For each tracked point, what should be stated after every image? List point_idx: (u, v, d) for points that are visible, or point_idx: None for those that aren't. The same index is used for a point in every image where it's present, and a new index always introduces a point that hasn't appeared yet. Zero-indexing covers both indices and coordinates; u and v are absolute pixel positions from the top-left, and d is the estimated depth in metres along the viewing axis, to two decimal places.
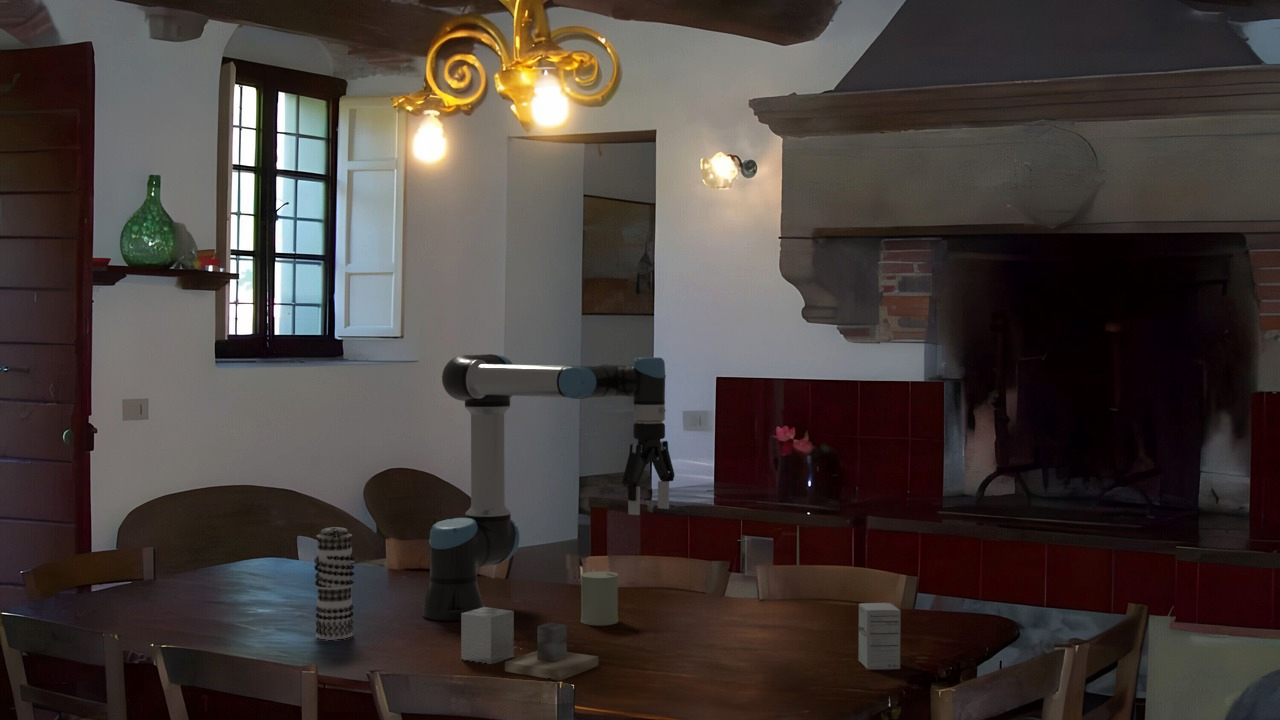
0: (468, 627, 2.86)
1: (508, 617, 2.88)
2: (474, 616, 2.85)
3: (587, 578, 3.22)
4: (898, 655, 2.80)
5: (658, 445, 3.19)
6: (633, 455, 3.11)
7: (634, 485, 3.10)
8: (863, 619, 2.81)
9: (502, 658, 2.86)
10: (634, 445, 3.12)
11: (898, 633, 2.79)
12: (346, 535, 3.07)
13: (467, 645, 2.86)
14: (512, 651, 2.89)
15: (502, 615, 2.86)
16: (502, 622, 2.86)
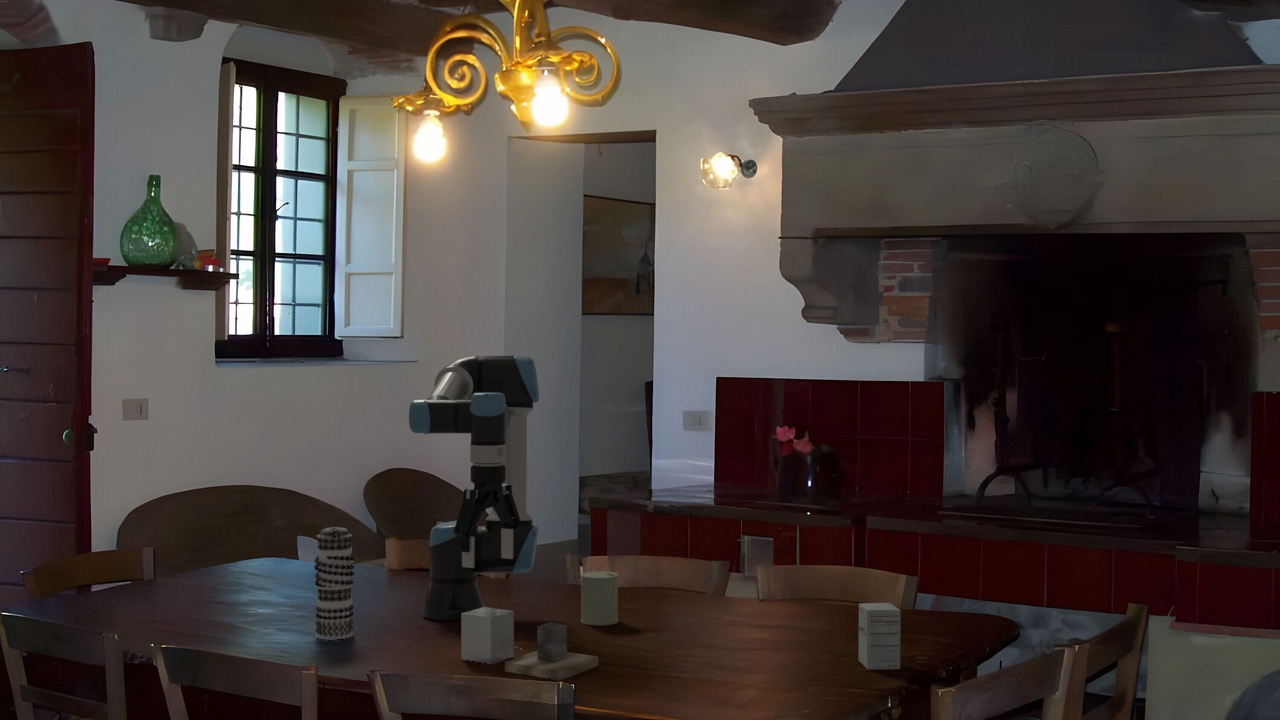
0: (468, 627, 2.86)
1: (508, 617, 2.88)
2: (474, 616, 2.85)
3: (587, 578, 3.22)
4: (898, 655, 2.80)
5: (499, 489, 2.89)
6: (467, 502, 2.82)
7: (467, 535, 2.80)
8: (863, 619, 2.81)
9: (502, 658, 2.86)
10: (468, 490, 2.82)
11: (898, 633, 2.79)
12: (346, 535, 3.07)
13: (467, 645, 2.86)
14: (512, 651, 2.89)
15: (502, 615, 2.86)
16: (502, 622, 2.86)
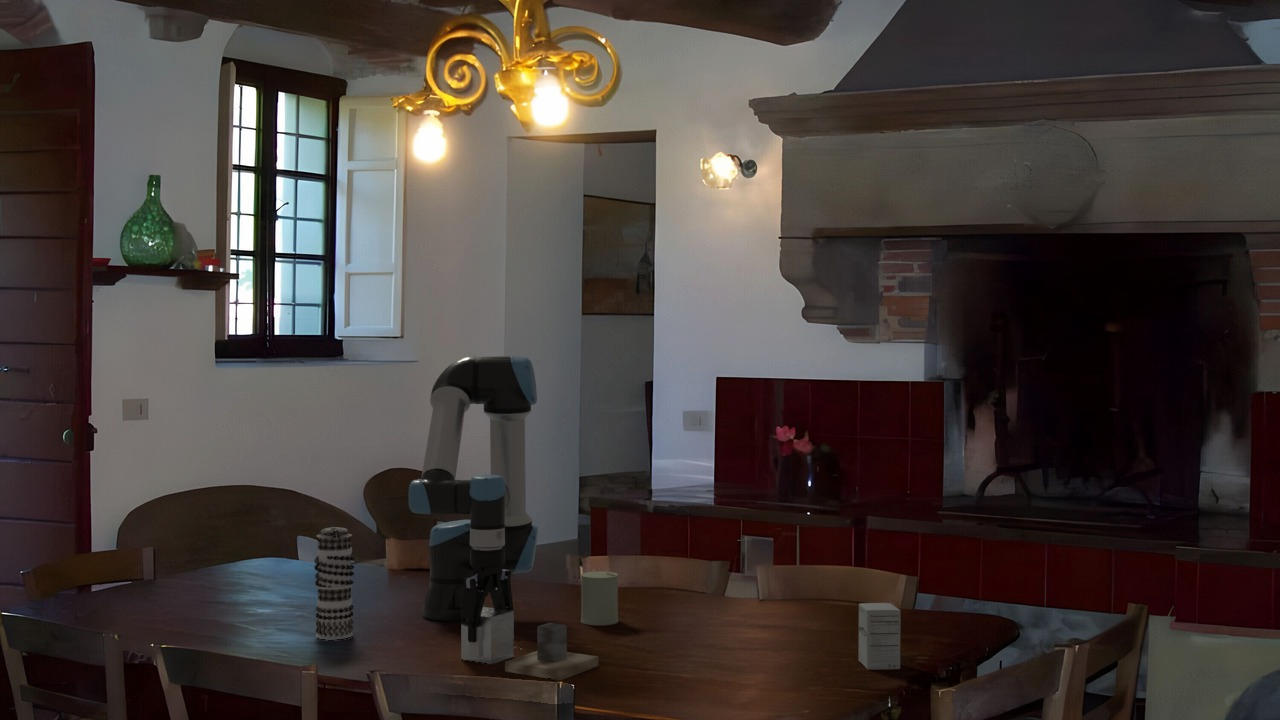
0: None
1: (508, 617, 2.88)
2: None
3: (587, 578, 3.22)
4: (898, 655, 2.80)
5: (498, 571, 2.90)
6: (468, 591, 2.82)
7: (474, 626, 2.83)
8: (863, 619, 2.81)
9: (502, 658, 2.86)
10: (467, 580, 2.82)
11: (898, 633, 2.79)
12: (346, 535, 3.07)
13: (467, 645, 2.86)
14: (512, 651, 2.89)
15: (502, 615, 2.86)
16: (502, 622, 2.86)
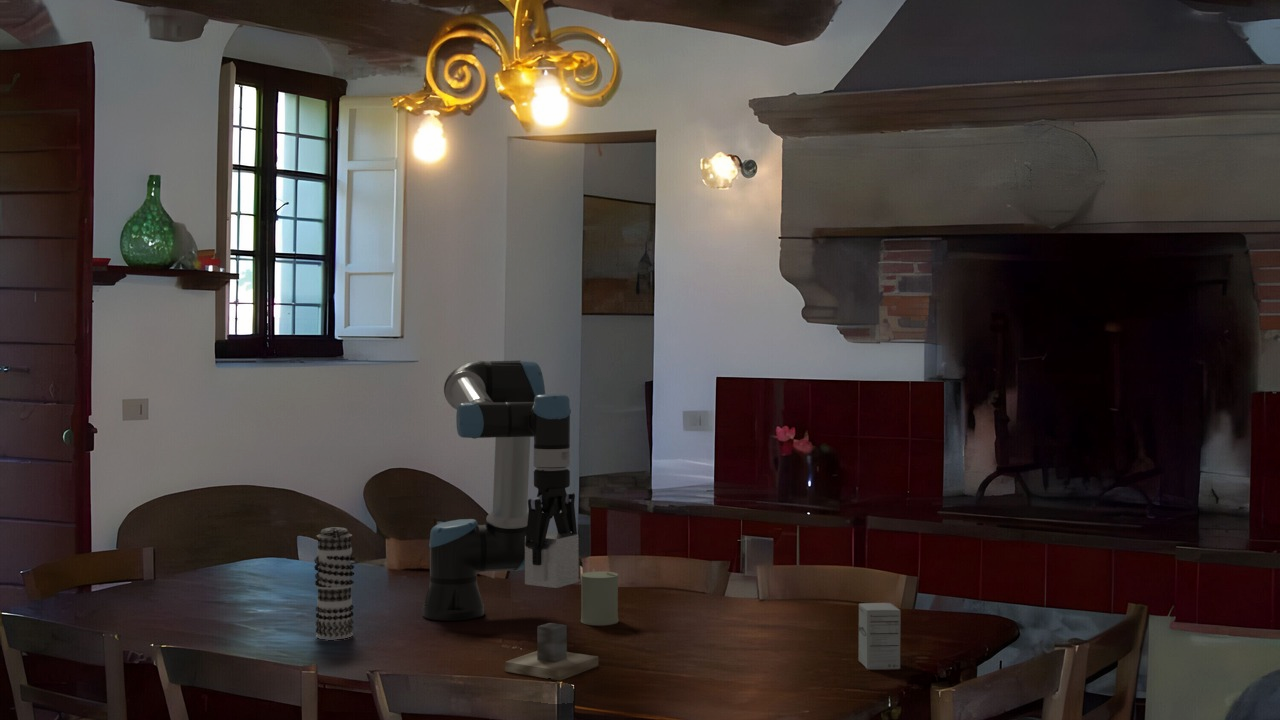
0: None
1: (573, 540, 2.79)
2: None
3: (587, 578, 3.22)
4: (898, 655, 2.80)
5: (563, 494, 2.80)
6: (533, 512, 2.73)
7: (539, 548, 2.74)
8: (863, 619, 2.81)
9: (567, 582, 2.77)
10: (532, 501, 2.73)
11: (898, 633, 2.79)
12: (346, 535, 3.07)
13: (531, 569, 2.77)
14: (577, 576, 2.80)
15: (567, 538, 2.77)
16: (567, 545, 2.77)
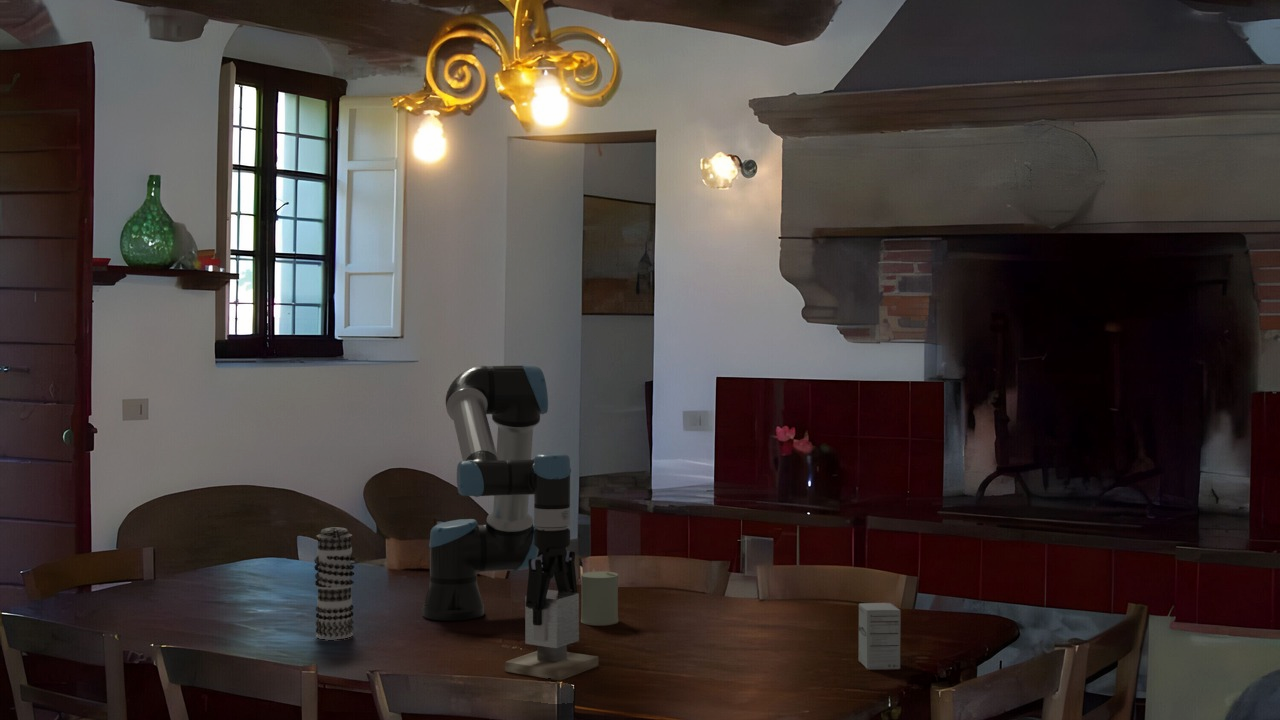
0: None
1: (573, 600, 2.79)
2: None
3: (587, 578, 3.22)
4: (898, 655, 2.80)
5: (563, 552, 2.81)
6: (533, 573, 2.73)
7: (539, 608, 2.74)
8: (863, 619, 2.81)
9: (568, 642, 2.77)
10: (533, 561, 2.73)
11: (898, 633, 2.79)
12: (346, 535, 3.07)
13: (531, 629, 2.77)
14: (577, 635, 2.80)
15: (568, 597, 2.77)
16: (567, 605, 2.77)
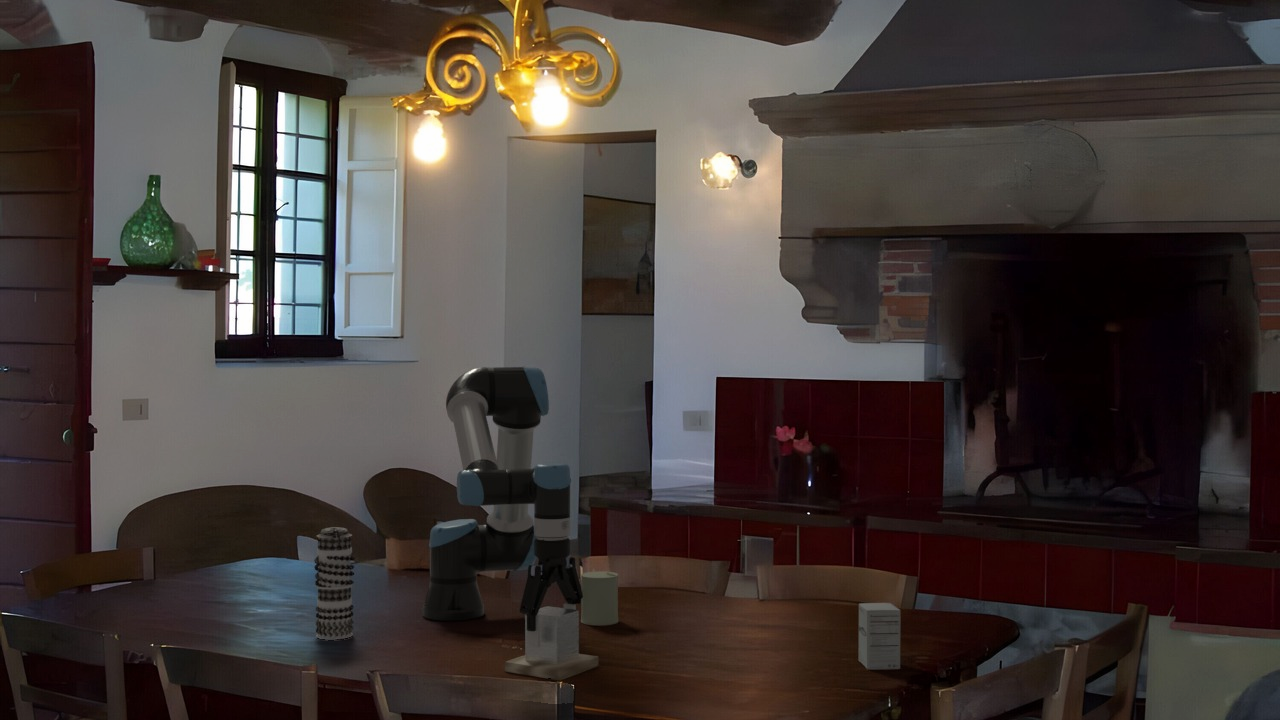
0: None
1: (573, 616, 2.79)
2: None
3: (587, 578, 3.22)
4: (898, 655, 2.80)
5: (563, 563, 2.81)
6: (532, 579, 2.73)
7: (533, 614, 2.72)
8: (863, 619, 2.81)
9: (567, 659, 2.77)
10: (533, 567, 2.73)
11: (898, 633, 2.79)
12: (346, 535, 3.07)
13: (531, 646, 2.77)
14: (577, 652, 2.80)
15: (567, 614, 2.77)
16: (567, 622, 2.77)
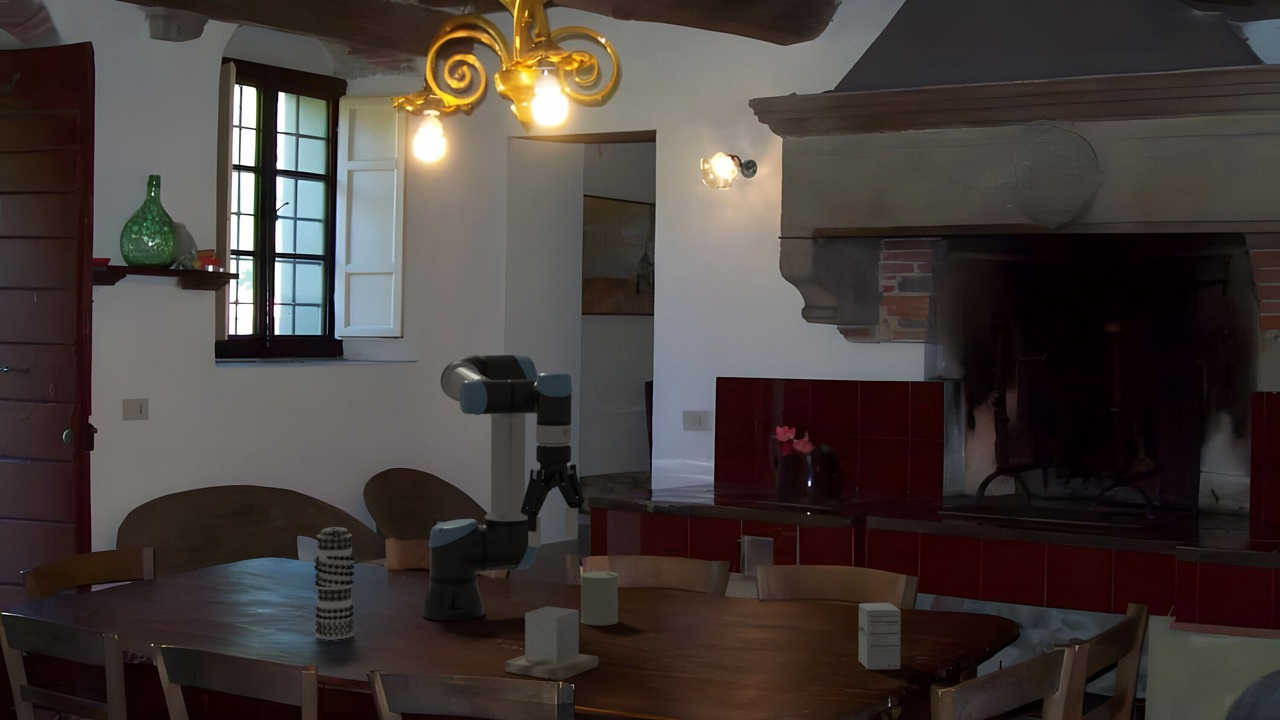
0: (532, 627, 2.77)
1: (573, 616, 2.79)
2: (539, 615, 2.76)
3: (587, 578, 3.22)
4: (898, 655, 2.80)
5: (564, 469, 2.91)
6: (533, 481, 2.83)
7: (534, 514, 2.82)
8: (863, 619, 2.81)
9: (567, 659, 2.77)
10: (535, 470, 2.84)
11: (898, 633, 2.79)
12: (346, 535, 3.07)
13: (531, 646, 2.77)
14: (577, 652, 2.80)
15: (567, 614, 2.77)
16: (567, 622, 2.77)
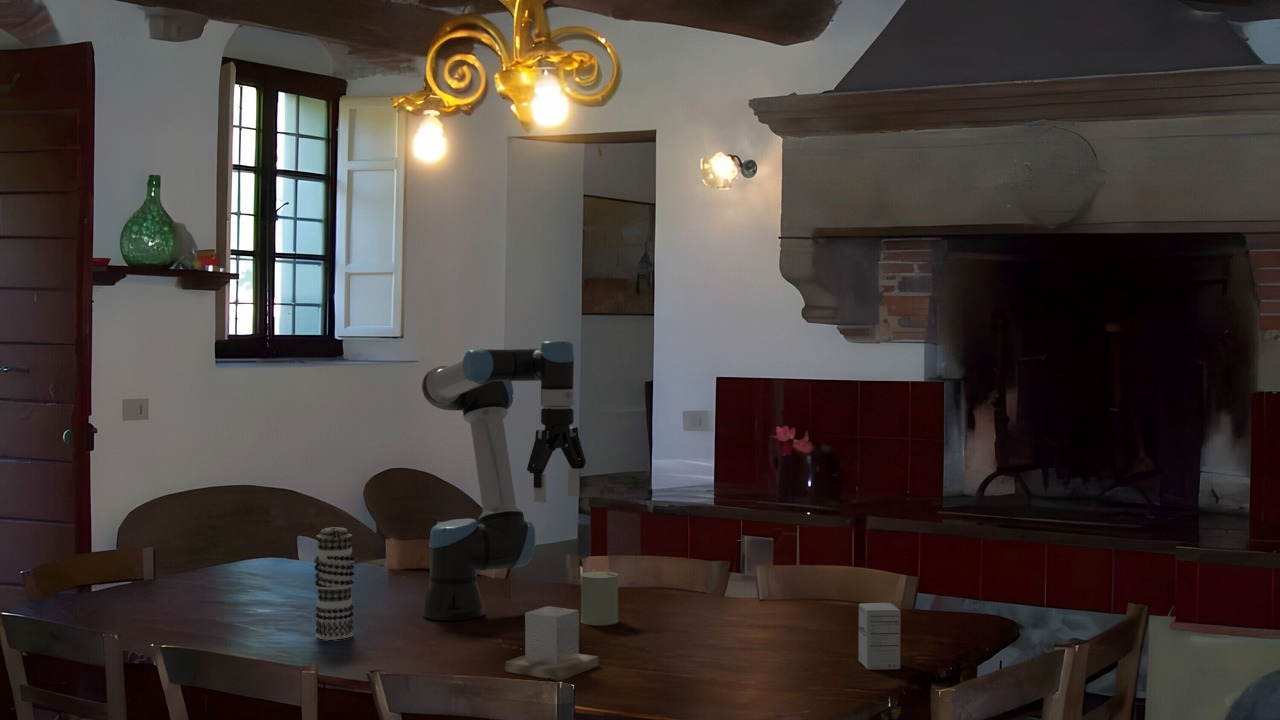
0: (532, 627, 2.77)
1: (573, 616, 2.79)
2: (539, 615, 2.76)
3: (587, 578, 3.22)
4: (898, 655, 2.80)
5: (567, 431, 3.11)
6: (539, 441, 3.03)
7: (539, 472, 3.02)
8: (863, 619, 2.81)
9: (567, 659, 2.77)
10: (540, 431, 3.04)
11: (898, 633, 2.79)
12: (346, 535, 3.07)
13: (531, 646, 2.77)
14: (577, 652, 2.80)
15: (567, 614, 2.77)
16: (567, 622, 2.77)
